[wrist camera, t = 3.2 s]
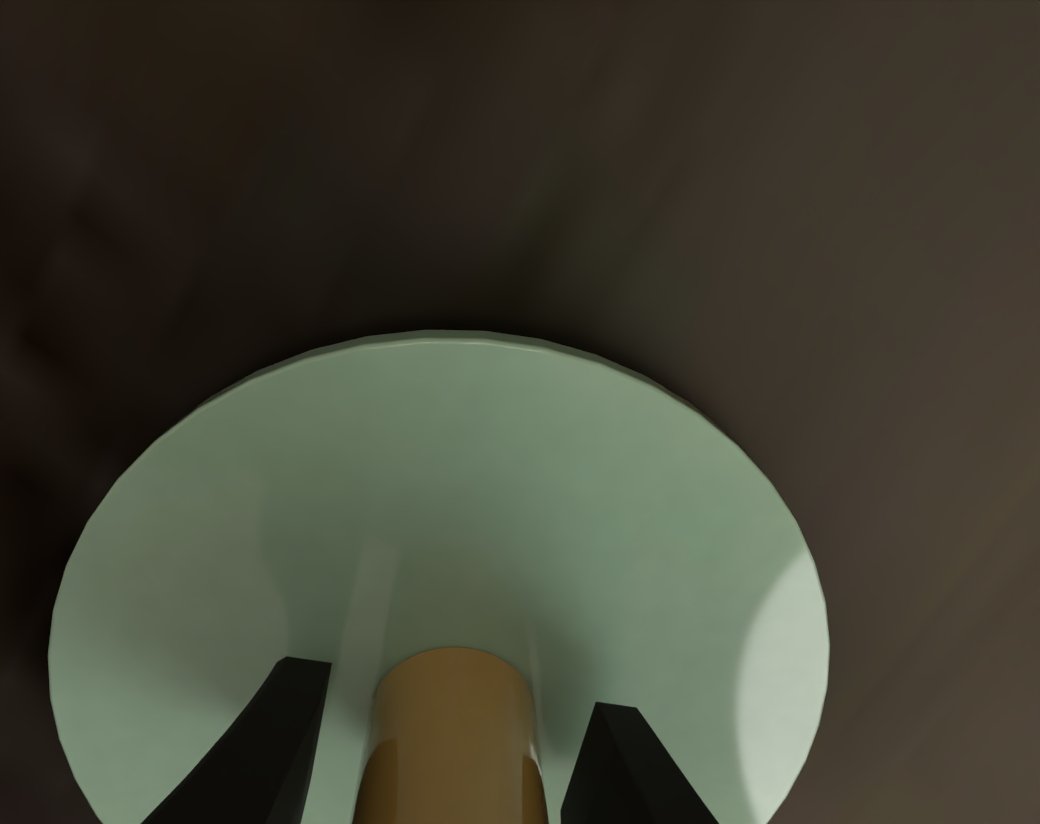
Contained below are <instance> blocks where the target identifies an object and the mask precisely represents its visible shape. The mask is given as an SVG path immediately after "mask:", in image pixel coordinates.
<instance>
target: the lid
mask: <svg viewBox="0 0 1040 824" xmlns="http://www.w3.org/2000/svg"><path fill="white" fill-rule="evenodd" d="M829 654H830V639H829V630H828V620H827V610H826V601H825V598H824V594H823V590H822V586H821V583H820V579H819V575H818V571H817V568H816V564H815V560H814V558H813V556H812V554H811V552H810V549H809V547H808V545H807V543H806V540H805V538H804V536H803V534H802V532H801V529H800V527H799V525H798V523H797V521H796V519H795V517H794V516H793V514H792V513H791V511H790V510H789V508H788V507H787V505H786V504H785V502H784V501H783V499H782V498H781V496H780V495H779V493H778V492H777V490H776V488H775V487H774V485H773V484H772V482H771V481H770V480H769V479H768V478H767V476H766V475H765V474H764V473H763V472H762V471H761V470H760V469H759V468H758V466H757V465H756V464H755V463H754V462H753V461H752V460H751V459H750V458H749V457H748V455H747V454H746V453H745V452H744V451H743V450H742V449H741V448H740V447H739V445H738V444H737V443H736V442H735V441H734V440H733V439H732V438H731V437H730V436H729V434H727V433H726V432H725V431H724V430H722V429H721V428H720V427H719V426H718V425H716V424H715V423H714V422H713V421H711V420H710V419H709V418H708V417H707V416H705V415H704V414H703V413H702V412H701V411H699V410H698V409H697V408H696V407H694V406H693V405H692V404H691V403H689V402H688V401H686V400H684V399H683V398H681V397H679V396H678V395H676V394H674V393H673V392H671V391H670V390H668V389H666V388H665V387H663V386H661V385H660V384H658V383H656V382H655V381H653V380H651V379H650V378H648V377H646V376H645V375H642V374H640V373H638V372H635V371H633V370H631V369H628V368H626V367H624V366H621V365H619V364H617V363H614V362H612V361H610V360H607V359H605V358H603V357H601V356H598V355H596V354H592V353H589V352H585V351H582V350H578V349H575V348H571V347H568V346H564V345H561V344H557V343H553V342H550V341H546V340H543V339H537V338H531V337H524V336H517V335H510V334H503V333H496V332H490V331H471V330H419V331H410V332H401V333H392V334H383V335H373V336H366V337H362V338H358V339H354V340H350V341H345V342H341V343H337V344H333V345H329V346H325V347H321V348H317V349H313V350H309V351H307V352H304V353H302V354H299V355H296V356H294V357H291V358H289V359H286V360H284V361H281V362H278V363H276V364H273V365H271V366H268V367H266V368H263V369H260V370H258V371H256V372H254V373H252V374H250V375H249V376H247V377H245V378H243V379H241V380H240V381H238V382H236V383H234V384H232V385H231V386H229V387H227V388H225V389H223V390H222V391H220V392H218V393H216V394H214V395H213V396H211V397H209V398H208V399H206V400H205V401H204V402H202V403H201V404H200V405H198V406H197V407H196V408H194V409H193V410H192V411H190V412H189V413H188V414H187V415H185V416H184V417H183V418H181V419H180V420H179V421H177V422H176V423H175V424H173V425H172V426H171V427H169V428H168V429H167V430H166V431H164V432H163V433H162V434H161V435H160V436H159V437H158V438H157V439H156V440H155V441H154V442H153V443H152V444H151V445H150V446H149V447H148V448H147V449H146V450H145V451H144V452H143V453H142V454H141V455H140V456H139V457H138V458H137V459H136V460H135V461H134V462H133V463H132V464H131V465H130V466H129V467H128V468H127V470H126V471H125V472H124V473H123V474H122V475H121V476H120V477H119V478H118V479H117V480H116V481H115V483H114V484H113V486H112V487H111V488H110V490H109V491H108V493H107V494H106V495H105V497H104V498H103V500H102V501H101V502H100V504H99V505H98V507H97V508H96V510H95V511H94V512H93V514H92V515H91V517H90V518H89V519H88V521H87V523H86V525H85V527H84V529H83V531H82V533H81V535H80V537H79V539H78V541H77V543H76V545H75V547H74V550H73V552H72V554H71V556H70V558H69V560H68V562H67V564H66V567H65V570H64V574H63V577H62V581H61V584H60V587H59V591H58V594H57V598H56V601H55V604H54V608H53V615H52V624H51V632H50V641H49V649H48V668H49V687H50V700H51V705H52V709H53V714H54V718H55V723H56V727H57V731H58V736H59V740H60V743H61V745H62V748H63V750H64V753H65V755H66V758H67V760H68V763H69V765H70V768H71V770H72V773H73V775H74V778H75V780H76V782H77V784H78V785H79V787H80V789H81V790H82V792H83V794H84V796H85V797H86V799H87V801H88V802H89V804H90V806H91V808H92V809H93V811H94V813H95V814H96V816H97V817H98V819H99V820H100V821H101V822H102V824H141V823H142V822H143V821H144V820H145V819H146V817H147V816H148V815H149V814H150V813H151V812H152V811H153V810H154V809H155V808H156V807H157V806H158V805H159V804H160V803H161V802H162V801H163V800H164V799H165V798H166V797H167V796H168V795H169V794H170V793H171V792H172V791H173V790H174V789H175V788H176V787H177V786H178V785H179V784H180V783H181V781H182V780H183V779H184V778H185V777H186V776H187V775H188V774H189V773H190V772H191V771H192V769H193V768H194V767H195V766H196V765H197V764H198V763H199V761H200V760H201V759H202V758H203V757H204V756H205V755H206V753H207V752H208V751H209V750H210V749H211V748H212V746H213V745H214V744H215V743H216V742H217V741H218V740H219V738H220V737H221V736H222V735H223V734H224V733H225V732H226V730H227V729H228V728H229V727H230V726H231V724H232V723H233V722H234V721H235V719H236V718H237V717H238V716H239V714H240V713H241V712H242V711H243V709H244V708H245V707H246V706H247V704H248V703H249V702H250V700H251V699H252V698H253V696H254V695H255V694H256V692H257V691H258V690H259V688H260V687H261V685H262V684H263V682H264V681H265V680H266V678H267V677H268V675H269V674H270V672H271V671H272V669H273V667H274V666H275V664H276V662H278V661H279V660H281V659H283V658H284V657H286V656H289V657H295V658H302V659H309V660H316V661H323V662H330V663H332V666H331V672H330V677H329V683H328V688H327V694H326V699H325V705H324V710H323V716H322V722H321V727H320V733H319V738H318V744H317V749H316V755H315V760H314V766H313V771H312V777H311V782H310V786H309V790H308V795H307V799H306V803H305V807H304V812H303V816H302V820H301V824H561V817H560V810H561V807H562V803H563V800H564V797H565V794H566V791H567V788H568V785H569V782H570V779H571V776H572V773H573V770H574V767H575V764H576V760H577V757H578V754H579V751H580V748H581V745H582V742H583V739H584V736H585V733H586V730H587V727H588V724H589V721H590V717H591V714H592V711H593V708H594V705H595V702H603V703H610V704H617V705H624V706H630V707H637V708H638V710H639V711H640V713H641V714H642V715H643V717H644V718H645V720H646V721H647V722H648V724H649V725H650V727H651V728H652V730H653V731H654V732H655V734H656V735H657V737H658V738H659V740H660V741H661V743H662V744H663V745H664V747H665V748H666V750H667V751H668V753H669V754H670V756H671V757H672V758H673V760H674V761H675V763H676V764H677V766H678V767H679V768H680V770H681V771H682V773H683V774H684V776H685V777H686V778H687V780H688V781H689V783H690V784H691V785H692V787H693V788H694V790H695V791H696V792H697V794H698V795H699V797H700V798H701V799H702V801H703V802H704V804H705V805H706V806H707V808H708V809H709V810H710V812H711V813H712V815H713V816H714V817H715V819H716V820H717V821H718V823H719V824H768V822H769V821H770V819H771V818H772V817H773V815H774V814H775V812H776V811H777V810H778V808H779V807H780V805H781V804H782V803H783V801H784V800H785V798H786V797H787V795H788V793H789V792H790V790H791V788H792V786H793V784H794V782H795V780H796V779H797V777H798V775H799V773H800V771H801V769H802V767H803V766H804V764H805V762H806V759H807V757H808V754H809V751H810V748H811V746H812V743H813V740H814V738H815V735H816V732H817V730H818V727H819V724H820V719H821V715H822V710H823V705H824V701H825V696H826V691H827V686H828V671H829Z"/></svg>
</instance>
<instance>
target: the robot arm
mask: <svg viewBox="0 0 1040 824" xmlns="http://www.w3.org/2000/svg"><path fill="white" fill-rule="evenodd" d="M331 666H332V663H330V662H323V661H316V660H309V659H302V658H295V657H289V656H286V657H284V658H283V659H281V660H279V661H278V662H276V664H275V666H274V667H273V669H272V671H271V672H270V674H269V675H268V677H267V678H266V680H265V681H264V682H263V684H262V685H261V687H260V688H259V690H258V691H257V692H256V694H255V695H254V696H253V698H252V699H251V700H250V702H249V703H248V704H247V706H246V707H245V708H244V709H243V711H242V712H241V713H240V714H239V716H238V717H237V718H236V719H235V721H234V722H233V723H232V724H231V726H230V727H229V728H228V729H227V730H226V732H225V733H224V734H223V735H222V736H221V737H220V738H219V740H218V741H217V742H216V743H215V744H214V745H213V746H212V748H211V749H210V750H209V751H208V752H207V753H206V755H205V756H204V757H203V758H202V759H201V760H200V761H199V763H198V764H197V765H196V766H195V767H194V768H193V769H192V771H191V772H190V773H189V774H188V775H187V776H186V777H185V778H184V779H183V780H182V781H181V783H180V784H179V785H178V786H177V787H176V788H175V789H174V790H173V791H172V792H171V793H170V794H169V795H168V796H167V797H166V798H165V799H164V800H163V801H162V802H161V803H160V804H159V805H158V806H157V807H156V808H155V809H154V810H153V811H152V812H151V813H150V814H149V815H148V816H147V817H146V819H145V820H144V821H143V822H142V823H141V824H301V820H302V816H303V812H304V807H305V803H306V799H307V795H308V790H309V786H310V782H311V777H312V771H313V766H314V760H315V755H316V749H317V744H318V738H319V733H320V727H321V722H322V716H323V710H324V705H325V699H326V694H327V688H328V683H329V677H330V672H331ZM560 817H561V824H719V823H718V821H717V820H716V819H715V817H714V816H713V815H712V813H711V812H710V810H709V809H708V808H707V806H706V805H705V804H704V802H703V801H702V799H701V798H700V797H699V795H698V794H697V792H696V791H695V790H694V788H693V787H692V785H691V784H690V783H689V781H688V780H687V778H686V777H685V776H684V774H683V773H682V771H681V770H680V768H679V767H678V766H677V764H676V763H675V761H674V760H673V758H672V757H671V756H670V754H669V753H668V751H667V750H666V748H665V747H664V745H663V744H662V743H661V741H660V740H659V738H658V737H657V735H656V734H655V732H654V731H653V730H652V728H651V727H650V725H649V724H648V722H647V721H646V720H645V718H644V717H643V715H642V714H641V713H640V711H639V710H638V708H637V707H630V706H624V705H617V704H610V703H603V702H595V705H594V708H593V711H592V714H591V717H590V721H589V724H588V727H587V730H586V733H585V736H584V739H583V742H582V745H581V748H580V751H579V754H578V757H577V760H576V764H575V767H574V770H573V773H572V776H571V779H570V782H569V785H568V788H567V791H566V794H565V797H564V800H563V803H562V807H561V810H560Z"/></svg>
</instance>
